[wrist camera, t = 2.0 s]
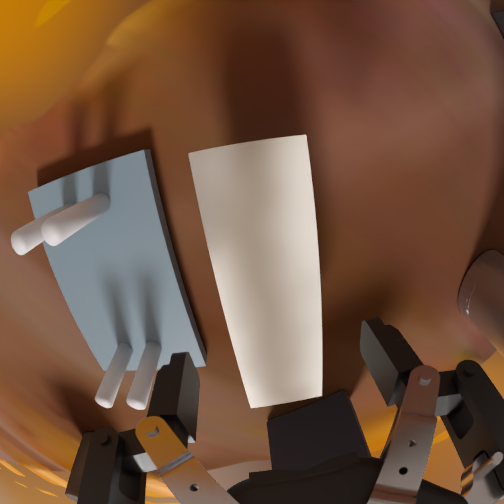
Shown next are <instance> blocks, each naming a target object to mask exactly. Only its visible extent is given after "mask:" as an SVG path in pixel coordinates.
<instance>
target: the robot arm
mask: <svg viewBox="0 0 504 504" xmlns="http://www.w3.org/2000/svg"><path fill="white" fill-rule="evenodd" d="M458 306H459V310H460V311H461V313H462V314H463V315H464V316H465V317H466V318H467V319H468V320H469V321H470V322H471V323H472V324H473V325H474V326H475V327H476V328H477V329H478V330H479V331H480V332H481V333H482V334H483V335H484V336H485V337H486V338H487V339H488V340H489V341H490V342H491V344H492V345H493V346H494V347H495V348H496V349H497V350H498V351H499V352H500V353H501V354H502V356H503V357H504V255H502V254H500V253H499V252H497V251H495V250H489V251H486V252H485V253H483V254H482V255H481V256H479V257H478V258H477V259H476V260H475V262H474V263H473V264H472V266H471V267H470V269H469V270H468V272H467V274H466V275H465V277H464V280H463V282H462V285H461V288H460V291H459V296H458ZM360 352H361V355H362V358H363V360H364V361H365V363H366V365H367V367H368V369H369V371H370V373H371V375H372V377H373V379H374V381H375V383H376V384H377V386H378V388H379V390H380V392H381V394H382V396H383V398H384V400H385V402H386V404H387V406H388V407H389V406H391V405H394V404H396V406H397V408H398V409H397V412H396V415H395V418H394V421H393V424H392V427H391V430H390V433H389V436H388V439H387V442H386V444H385V447H384V449H383V451H382V454H381V456H380V458H374V457H364V456H361V457H358V455H357V452H356V451H355V452H352V453H348V454H345V455H341V456H338V457H334V458H330V459H328V460H326V461H324V462H322V463H320V464H318V465H316V466H314V467H311V468H309V469H307V470H278V469H275V470H268V471H260V472H251V473H249V479H246V480H244V481H241V482H239V483H237V484H236V485H234V486H232V487H231V488H230V489H228V490H227V491H225V490H224V489H223V488H222V487H221V486H220V484H219V483H217V481H216V480H215V479H214V478H213V477H212V476H211V475H210V474H209V473H208V472H207V471H206V470H205V469H204V468H203V466H202V465H201V464H200V463H199V462H198V461H197V460H196V459H195V457H194V456H193V455H192V454H191V453H190V452H189V451H188V450H187V446H188V443H196V428H197V414H198V401H199V389H200V381H199V376H198V373H197V370H196V368H195V365H194V363H193V360H192V358H191V356H190V353H189V352H180V353H172V355H171V359H170V363H169V364H167V365H163V366H162V367H161V369H160V370H159V371H158V373H157V376H156V380H155V384H154V388H153V389H154V391H153V392H152V397H151V401H150V405H149V410H148V414H147V417H146V418H144V419H142V420H141V421H140V422H139V423H138V425H137V426H136V428H135V429H132V430H128V431H124V432H119V433H117V432H116V431H115V430H114V429H113V428H110V427H102V428H99V429H97V430H96V431H95V432H94V433H93V434H92V436H91V439H90V443H89V447H88V451H87V456H86V460H85V464H84V469H83V474H82V479H81V484H80V489H79V495H78V500H77V504H145V489H146V475H147V471H152V470H156V469H158V471H159V472H158V474H159V475H160V477H161V478H162V480H163V481H164V483H165V484H166V485H167V487H168V488H169V489H170V491H171V492H172V493H173V495H174V496H175V497H176V498H177V500H178V501H179V502H180V503H181V504H495V503H496V502H498V501H500V500H501V499H503V498H504V399H503V398H502V396H501V395H500V393H499V392H498V390H497V389H496V387H495V386H494V384H493V383H492V382H491V380H490V379H489V377H488V376H487V374H486V373H485V372H484V370H483V369H482V368H481V366H480V365H479V364H478V363H477V362H475V361H472V360H464V361H462V362H460V363H459V364H458V365H457V367H456V370H451V371H444V372H438V371H437V370H436V369H435V368H433V367H431V366H428V365H424V364H423V363H422V362H421V360H420V359H419V358H418V356H417V355H416V353H415V352H414V351H413V349H412V348H411V346H410V345H409V344H408V342H407V341H406V340H405V338H403V336H402V334H401V333H400V332H399V330H398V329H396V328H395V327H393V326H391V325H390V324H389V325H386V326H385V325H384V324H383V322H382V321H381V320H380V318H379V317H375V318H371V319H367V320H364V321H362V325H361V336H360ZM436 416H440V417H441V419H442V421H443V423H444V425H445V427H446V429H447V431H448V433H449V435H450V437H451V440H452V442H453V444H454V446H455V448H456V450H457V452H458V455H459V457H460V459H461V461H462V464H463V466H464V468H465V470H464V472H463V473H462V476H461V488H462V491H461V495H460V494H458V493H456V492H453V491H450V490H448V489H445V488H443V487H440V486H438V485H436V484H433V483H431V482H429V481H426V480H424V479H422V477H423V474H424V471H425V468H426V464H427V461H428V457H429V454H430V450H431V446H432V442H433V437H434V432H435V428H436V423H437V417H436Z"/></svg>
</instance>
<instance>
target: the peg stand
mask: <svg viewBox="0 0 504 504" xmlns="http://www.w3.org/2000/svg"><path fill="white" fill-rule="evenodd" d="M28 194H29V198H30V202H31V205H32V209H33V213H34V216H35V220H34V221H32V222H30V223H28V224H26V225H25V226H23V227H21V228H19V229H17V230H16V231H14V232H13V233H12V235H11V243H12V246H13V249H14V250H15V251H16V253H18V254H19V255H24V254H25V253H27V252H28V251H30V250H31V249H32V248H34V247H35V246H37V245H38V244H40V243H41V242H43V245H44V248H45V251H46V254H47V256H48V259H49V262H50V264H51V267H52V270H53V272H54V275H55V277H56V279H57V282H58V284H59V287H60V289H61V291H62V293H63V296H64V298H65V300H66V302H67V304H68V307H69V309H70V311H71V313H72V315H73V317H74V319H75V321H76V323H77V325H78V327H79V329H80V331H81V332H82V334H83V336H84V338H85V340H86V342H87V343H88V345H89V347H90V349H91V351H92V352H93V354H94V356H95V357H96V359H97V361H98V362H99V364H100V366H101V367H102V369H103V371H106V373H105V376H104V378H103V380H102V382H101V385H100V387H99V389H98V392H97V394H96V396H95V401H96V402H97V403H98V404H99V405H101V406H103V407H106V408H111V407H112V406H113V403H114V400H115V397H116V395H117V392H118V389H119V386H120V384H121V381H122V379H123V376H124V373H125V371H127V370H137V371H136V374H135V376H134V379H133V382H132V385H131V388H130V391H129V394H128V397H127V400H126V401H127V403H128V405H129V406H131V407H132V408H135V409H138V410H143V409H145V408H146V405H147V401H148V397H149V393H150V390H151V386H152V382H153V379H154V375H155V372H156V370H158V369H161V367H162V366H163V365H167V364H169V363H170V359H171V355H172V353H180V352H189V353H190V356H191V358H192V360H193V363H194V365H195V367H200V366H206V360H207V354H206V352H205V349H204V346H203V343H202V340H201V337H200V334H199V331H198V328H197V325H196V322H195V319H194V316H193V313H192V310H191V307H190V304H189V301H188V297H187V294H186V291H185V288H184V284H183V281H182V278H181V274H180V271H179V267H178V264H177V260H176V257H175V253H174V250H173V246H172V242H171V238H170V235H169V231H168V227H167V223H166V219H165V215H164V211H163V207H162V202H161V198H160V194H159V189H158V185H157V181H156V176H155V171H154V166H153V162H152V157H151V152H150V149H146V150H141V151H138V152H134V153H131V154H128V155H124V156H121V157H118V158H115V159H112V160H109V161H106V162H103V163H100V164H97V165H94V166H91V167H88V168H85V169H83V170H80V171H77V172H75V173H72V174H70V175H67V176H64V177H62V178H59V179H57V180H55V181H52V182H50V183H47V184H45V185H43V186H40V187H38V188H36V189H34V190H32V191H29V192H28Z"/></svg>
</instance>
